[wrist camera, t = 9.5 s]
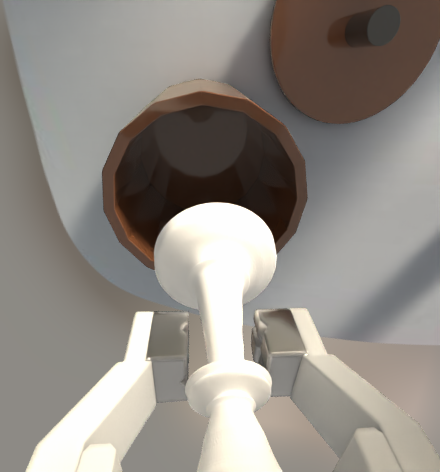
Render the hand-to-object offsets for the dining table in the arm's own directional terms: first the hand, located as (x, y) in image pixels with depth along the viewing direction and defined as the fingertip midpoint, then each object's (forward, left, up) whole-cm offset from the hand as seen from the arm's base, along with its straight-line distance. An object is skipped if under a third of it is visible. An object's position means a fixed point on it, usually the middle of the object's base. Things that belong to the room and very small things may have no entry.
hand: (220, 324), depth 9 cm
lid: (-15, +7, -25) cm, 30 cm away
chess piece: (0, 0, -4) cm, 4 cm away
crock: (+2, +1, -26) cm, 26 cm away
